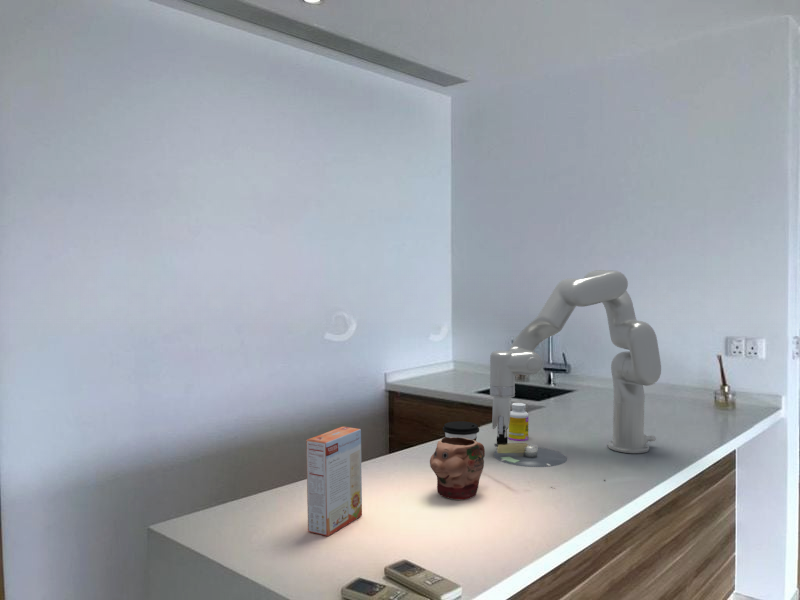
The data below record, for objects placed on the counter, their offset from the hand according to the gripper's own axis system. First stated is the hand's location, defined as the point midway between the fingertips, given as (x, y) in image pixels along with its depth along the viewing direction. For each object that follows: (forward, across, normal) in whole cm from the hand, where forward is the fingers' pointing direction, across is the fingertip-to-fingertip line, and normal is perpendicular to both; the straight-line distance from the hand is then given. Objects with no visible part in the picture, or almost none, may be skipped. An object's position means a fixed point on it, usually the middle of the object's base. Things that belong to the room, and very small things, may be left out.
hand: (502, 449), depth 202 cm
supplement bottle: (+3, -20, +4) cm, 21 cm away
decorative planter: (+3, +35, -8) cm, 36 cm away
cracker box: (+2, +63, -33) cm, 71 cm away
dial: (+3, +1, +8) cm, 9 cm away
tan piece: (+1, +2, +4) cm, 5 cm away
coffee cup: (+3, +11, -11) cm, 16 cm away
